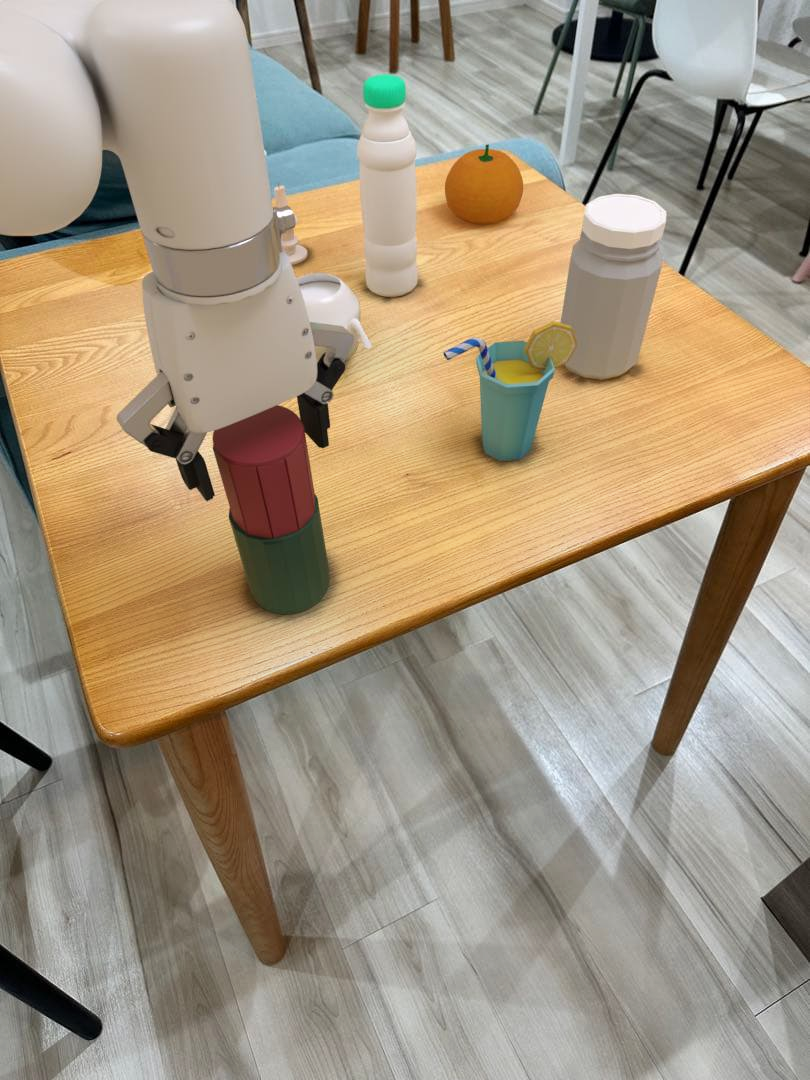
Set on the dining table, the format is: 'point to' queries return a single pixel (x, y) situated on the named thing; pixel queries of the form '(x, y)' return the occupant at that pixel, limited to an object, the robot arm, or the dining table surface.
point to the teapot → (332, 307)
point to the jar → (613, 283)
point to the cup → (516, 385)
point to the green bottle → (285, 566)
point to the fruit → (484, 186)
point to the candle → (289, 232)
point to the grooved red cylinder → (266, 472)
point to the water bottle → (388, 189)
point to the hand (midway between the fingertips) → (260, 462)
